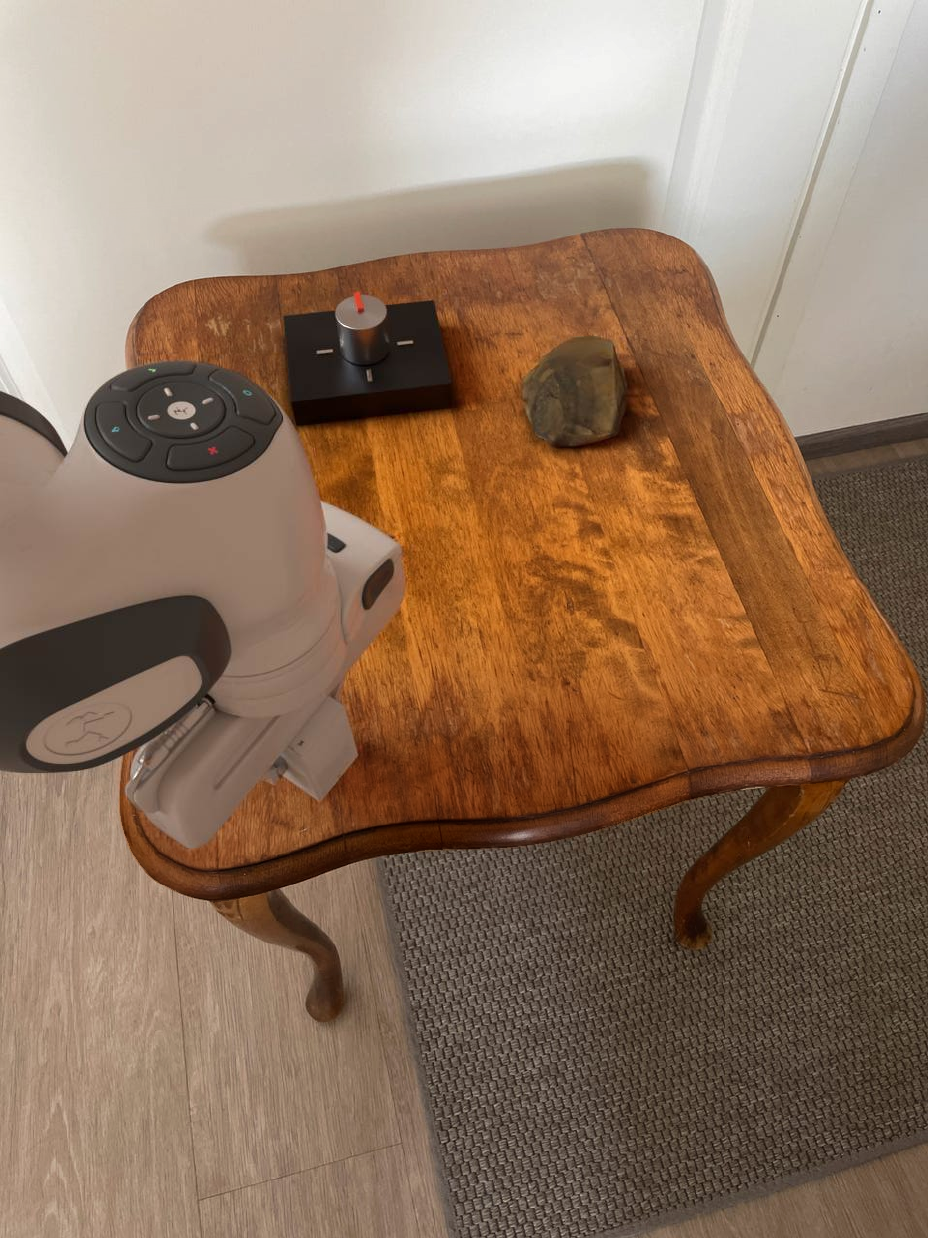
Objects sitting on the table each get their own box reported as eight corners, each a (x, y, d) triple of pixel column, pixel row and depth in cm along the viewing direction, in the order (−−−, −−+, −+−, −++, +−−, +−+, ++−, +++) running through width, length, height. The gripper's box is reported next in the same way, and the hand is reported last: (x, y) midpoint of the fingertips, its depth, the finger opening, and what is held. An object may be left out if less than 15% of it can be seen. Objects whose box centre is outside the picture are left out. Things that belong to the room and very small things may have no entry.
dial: (393, 361, 80) (390, 322, 76) (344, 368, 79) (339, 329, 76) (385, 327, 82) (381, 288, 78) (337, 334, 82) (331, 295, 78)
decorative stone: (638, 446, 79) (646, 417, 76) (532, 453, 78) (535, 425, 75) (615, 361, 84) (621, 331, 81) (515, 368, 84) (518, 338, 81)
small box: (359, 756, 62) (347, 705, 55) (320, 805, 60) (302, 758, 53) (292, 710, 63) (272, 655, 57) (251, 756, 62) (226, 705, 55)
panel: (295, 426, 80) (290, 400, 77) (288, 340, 86) (282, 313, 83) (452, 407, 81) (452, 381, 78) (434, 325, 87) (433, 298, 84)
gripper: (167, 823, 42) (231, 900, 53) (419, 526, 51) (427, 648, 62) (69, 753, 43) (152, 842, 55) (330, 478, 52) (353, 605, 64)
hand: (299, 737), depth 59 cm, fingers closed on small box, 4 cm apart
